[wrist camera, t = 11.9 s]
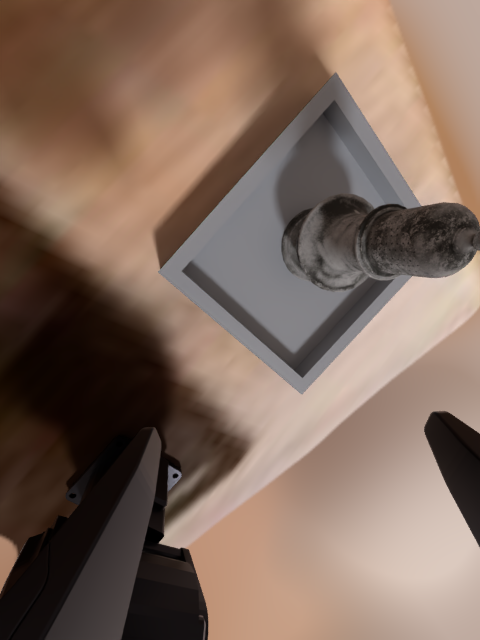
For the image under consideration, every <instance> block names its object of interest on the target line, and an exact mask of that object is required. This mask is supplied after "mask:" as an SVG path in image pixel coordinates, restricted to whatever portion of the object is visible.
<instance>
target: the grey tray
mask: <svg viewBox="0 0 480 640" xmlns="http://www.w3.org/2000/svg"><path fill="white" fill-rule="evenodd" d="M341 193H344V194H354V195H357V196H359V197H362V198H364V199H365V200H366V201H368V202H369V203H370V204H371V205H372V206H373V207H374V209H375V208H377V207H379V206H382V205H385V204H399V205H402V206H404V207H406V208H407V209H410V208H415V207H421V205H420V203H419V202H418V200H417V199H416V197H415V195H414V194H413V192H412V191H411V189H410V188H409V186H408V184H407V183H406V181H405V180H404V178H403V177H402V175H401V173H400V172H399V170H398V169H397V167H396V166H395V164H394V162H393V161H392V159H391V158H390V156H389V155H388V153H387V151H386V150H385V148H384V147H383V145H382V144H381V142H380V140H379V139H378V137H377V136H376V134H375V133H374V131H373V129H372V128H371V126H370V125H369V123H368V122H367V120H366V118H365V117H364V115H363V114H362V112H361V111H360V109H359V107H358V106H357V104H356V103H355V101H354V100H353V98H352V96H351V95H350V93H349V92H348V90H347V89H346V87H345V85H344V84H343V82H342V81H341V79H340V78H339V76H338V74H337V73H335V74H334V75H333V76H332V77H331V78H330V79H329V80H328V81H327V83H326V84H325V85H324V86H323V87H322V88H321V89H320V90H319V92H318V93H317V94H316V95H315V96H314V97H313V98H312V99H311V101H310V102H309V103H308V104H307V105H306V106H305V107H304V108H303V110H302V111H301V112H300V113H299V114H298V115H297V116H296V117H295V118H294V120H293V121H292V122H291V123H290V124H289V125H288V126H287V127H286V129H285V130H284V131H283V132H282V133H281V134H280V135H279V136H278V138H277V139H276V140H275V141H274V142H273V143H272V144H271V145H270V147H269V148H268V149H267V150H266V151H265V152H264V153H263V154H262V156H261V157H260V158H259V159H258V160H257V161H256V162H255V163H254V165H253V166H252V167H251V168H250V169H249V170H248V171H247V172H246V174H245V175H244V176H243V177H242V178H241V179H240V180H239V181H238V183H237V184H236V185H235V186H234V187H233V188H232V189H231V190H230V192H229V193H228V194H227V195H226V196H225V197H224V198H223V199H222V201H221V202H220V203H219V204H218V205H217V206H216V207H215V208H214V210H213V211H212V212H211V213H210V214H209V215H208V216H207V217H206V219H205V220H204V221H203V222H202V223H201V224H200V225H199V226H198V228H197V229H196V230H195V231H194V232H193V233H192V234H191V235H190V237H189V238H188V239H187V240H186V241H185V242H184V243H183V244H182V246H181V247H180V248H179V249H178V250H177V251H176V252H175V253H174V255H173V256H172V257H171V258H170V259H169V260H168V261H167V262H166V264H165V265H164V266H163V267H162V268H161V269H160V270H159V271H158V273H160V274H161V275H162V276H163V277H164V278H165V279H167V280H168V281H169V282H170V283H171V284H173V285H174V286H175V287H176V288H177V289H178V290H180V291H181V292H182V293H183V294H184V295H185V296H187V297H188V298H189V299H190V300H191V301H192V302H194V303H195V304H196V305H197V306H198V307H200V308H201V309H202V310H203V311H204V312H205V313H207V314H208V315H209V316H210V317H211V318H212V319H214V320H215V321H216V322H217V323H218V324H219V325H221V326H222V327H223V328H224V329H225V330H227V331H228V332H229V333H230V334H231V335H232V336H234V337H235V338H236V339H237V340H238V341H239V342H241V343H242V344H243V345H244V346H245V347H246V348H248V349H249V350H250V351H251V352H252V353H254V354H255V355H256V356H257V357H258V358H259V359H261V360H262V361H263V362H264V363H265V364H266V365H268V366H269V367H270V368H271V369H272V370H273V371H275V372H276V373H277V374H278V375H279V376H281V377H282V378H283V379H284V380H285V381H286V382H288V383H289V384H290V385H291V386H292V387H293V388H295V389H296V390H297V391H298V392H299V393H300V394H303V393H304V392H305V391H306V390H307V389H308V388H309V386H310V385H311V384H312V383H313V382H314V381H315V380H316V379H317V378H318V377H319V376H320V375H321V374H322V372H323V371H324V370H325V369H326V368H327V367H328V366H329V365H330V364H331V363H332V362H333V361H334V360H335V358H336V357H337V356H338V355H339V354H340V353H341V352H342V351H343V350H344V349H345V348H346V347H347V346H348V344H349V343H350V342H351V341H352V340H353V339H354V338H355V337H356V336H357V335H358V334H359V333H360V332H361V331H362V329H363V328H364V327H365V326H366V325H367V324H368V323H369V322H370V321H371V320H372V319H373V318H374V317H375V315H376V314H377V313H378V312H379V311H380V310H381V309H382V308H383V307H384V306H385V305H386V304H387V303H388V301H389V300H390V299H391V298H392V297H393V296H394V295H395V294H396V293H397V292H398V291H399V290H400V289H401V287H402V286H403V285H404V284H405V283H406V282H407V281H408V280H409V279H410V278H411V277H412V276H409V275H400V276H398V277H397V278H394V279H391V280H377V279H373V278H371V277H368V278H367V279H366V280H365V281H364V282H363V283H362V284H360V285H358V286H357V287H355V288H353V289H350V290H347V291H344V292H331V291H327V290H323V289H321V288H319V287H318V286H316V285H314V284H313V283H312V282H308V281H305V280H301V279H299V278H297V277H296V276H294V275H293V274H292V273H291V272H290V271H289V270H288V269H287V267H286V265H285V263H284V261H283V256H282V252H281V245H282V238H283V234H284V231H285V229H286V227H287V225H288V224H289V222H290V221H291V220H292V219H293V218H294V217H295V216H296V215H297V214H299V213H300V212H302V211H304V210H306V209H310V208H314V207H315V206H316V205H317V204H318V203H319V202H321V201H323V200H324V199H326V198H328V197H330V196H333V195H337V194H341Z"/></svg>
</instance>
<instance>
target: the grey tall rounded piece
mask: <svg viewBox="0 0 480 640" xmlns="http://www.w3.org/2000/svg"><path fill="white" fill-rule="evenodd" d="M477 250H480V226H479V222H478V220H477V218H476V217H475V215H474V214H473V213H472V212H471V211H470V210H469V209H468V208H467V207H465V206H463V205H461V204H459V203H444V202H443V203H438V204H432V205H427V206H421V207H415V208H410V209H407V208H406V207H404V206H402V205H399V204H385V205H382V206H379V207H377V208H375V209H374V207H373V206H372V205H371V204H370V203H369V202H368V201H366V200H365V199H364V198H362V197H359V196H357V195H354V194H344V193H341V194H337V195H333V196H330V197H328V198H326V199H324V200H323V201H321V202H319V203H318V204H317V205H316V206H315V207H314V208H310V209H306V210H304V211H302V212H300V213H299V214H297V215H296V216H295V217H294V218H293V219H292V220H291V221H290V222H289V224H288V225H287V227H286V229H285V231H284V234H283V238H282V245H281V252H282V256H283V261H284V263H285V265H286V267H287V269H288V270H289V271H290V272H291V273H292V274H293V275H294V276H296V277H297V278H299V279H301V280H305V281H308V282H312V283H313V284H314V285H316V286H318V287H319V288H321V289H323V290H327V291H331V292H344V291H347V290H350V289H353V288H355V287H357V286H358V285H360V284H362V283H363V282H364V281H365V280H366V279H367V278H368V277H371V278H373V279H377V280H391V279H394V278H397V277H398V276H400V275H409V276H418V277H428V278H441V277H447V276H450V275H453V274H455V273H456V272H458V271H459V270H461V269H462V268H464V267H465V266H466V265H467V264H468V263H469V262H470V261H471V260H472V258H473V257H474V255H475V254H476V251H477Z"/></svg>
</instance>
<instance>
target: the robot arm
mask: <svg viewBox="0 0 480 640" xmlns="http://www.w3.org/2000/svg"><path fill="white" fill-rule="evenodd" d="M424 432H425V435H426V438H427V440H428V442H429V445H430V447H431V450H432V452H433V454H434V457H435V459H436V462H437V464H438V466H439V469H440V471H441V473H442V476H443V478H444V480H445V482H446V485H447V487H448V488H449V490H450V492H451V494H452V496H453V498H454V500H455V502H456V504H457V506H458V507H459V509H460V511H461V513H462V515H463V517H464V518H465V520H466V522H467V524H468V526H469V528H470V530H471V532H472V534H473V536H474V537H475V539H476V541H477V543H478V545H479V547H480V434H479V433H478V432H477V431H475V430H474V429H472V428H471V427H469V426H468V425H466V424H465V423H463V422H462V421H460V420H459V419H457V418H456V417H455V416H453V415H452V414H450V413H448V412H446V411H436V412H432V413H431V414H430V416H429V418H428V420H427V422H426V424H425V427H424ZM117 442H122V444H119V443H117ZM160 453H161V440H160V438H159V435H158V433H157V430H156V428H154V427H144V428H142V429H141V430H140V431H139V432H138V433H137V435H136V436H135V437H134V438H133V439H132V440H130V439H128V438H127V437H125V436H117V437H116V438H114V440H113V441H112V442H111V443H110V444H109V445H108V446H107V447H106V448H105V449H104V451H103V452H102V453H101V454H100V455H99V456H98V457H97V458H96V459H95V461H94V462H93V463H92V464H91V465H90V466H89V467H88V468H87V469H86V470H85V472H84V473H83V474H82V475H81V476H80V477H79V478H78V479H77V480H76V481H75V483H74V484H73V485H72V486H71V487H70V488H69V489H68V491H67V493H66V499H67V500H69V501H71V502H73V503H75V504H78V505H79V506H78V507H77V508H76V509H75V511H74V512H73V513H72V514H71V515H70V517H69V518H67V517H63V516H59V515H58V516H57V518H56V520H55V521H54V523H53V524H52V526H51V528H48V529H47V530H46V532H43V533H42V534H39V535H36V536H33V537H30V538H28V540H27V542H26V543H25V545H24V546H23V548H22V550H21V552H20V554H19V556H18V558H17V560H16V562H15V564H14V566H13V568H12V570H11V572H10V574H9V576H8V578H7V580H6V582H5V584H4V586H3V588H2V591H1V593H0V640H208V613H207V607H206V603H205V599H204V596H203V593H202V590H201V587H200V583H199V580H198V577H197V574H196V571H195V568H194V564H193V561H192V558H191V555H190V552H189V550H188V549H185V548H180V549H178V548H174V547H170V546H166V545H162V544H159V542H160V541H161V539H162V538H163V537H164V523H165V507H166V506H167V499H168V491H169V490H170V489H171V488H172V487H173V486H174V485H175V483H176V482H177V481H178V480H179V479H180V478H181V475H182V473H181V469H180V468H179V467H177V466H175V465H173V464H172V463H170V462H168V460H166V459H165V458H163V457H161V456H160ZM174 473H177V474H176V475H174ZM72 493H75V494H72Z"/></svg>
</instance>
